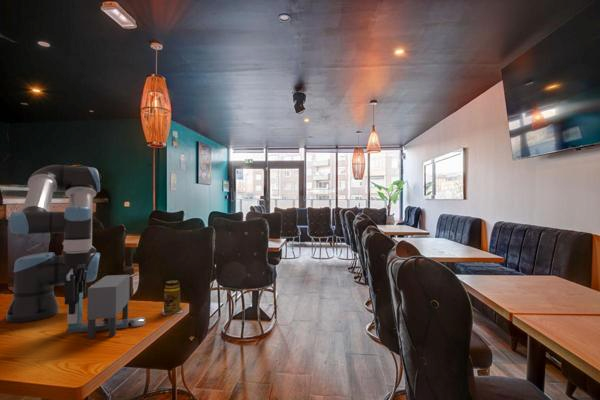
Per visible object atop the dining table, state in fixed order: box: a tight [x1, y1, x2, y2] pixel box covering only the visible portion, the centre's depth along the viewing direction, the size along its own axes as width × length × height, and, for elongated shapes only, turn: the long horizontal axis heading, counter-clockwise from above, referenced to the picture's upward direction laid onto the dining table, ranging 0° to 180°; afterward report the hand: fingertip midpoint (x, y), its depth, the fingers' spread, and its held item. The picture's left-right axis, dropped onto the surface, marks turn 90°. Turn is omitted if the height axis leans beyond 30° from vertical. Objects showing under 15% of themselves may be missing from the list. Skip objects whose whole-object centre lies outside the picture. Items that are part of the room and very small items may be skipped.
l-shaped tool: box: [66, 292, 132, 334], centre depth 106 cm, size 18×5×12 cm, turn 107°
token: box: [129, 316, 147, 328], centre depth 109 cm, size 5×5×2 cm
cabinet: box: [86, 274, 131, 340], centre depth 107 cm, size 18×8×16 cm, turn 17°
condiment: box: [161, 280, 183, 316], centre depth 124 cm, size 7×8×12 cm
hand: (75, 321), depth 103 cm, fingers closed on l-shaped tool, 3 cm apart
